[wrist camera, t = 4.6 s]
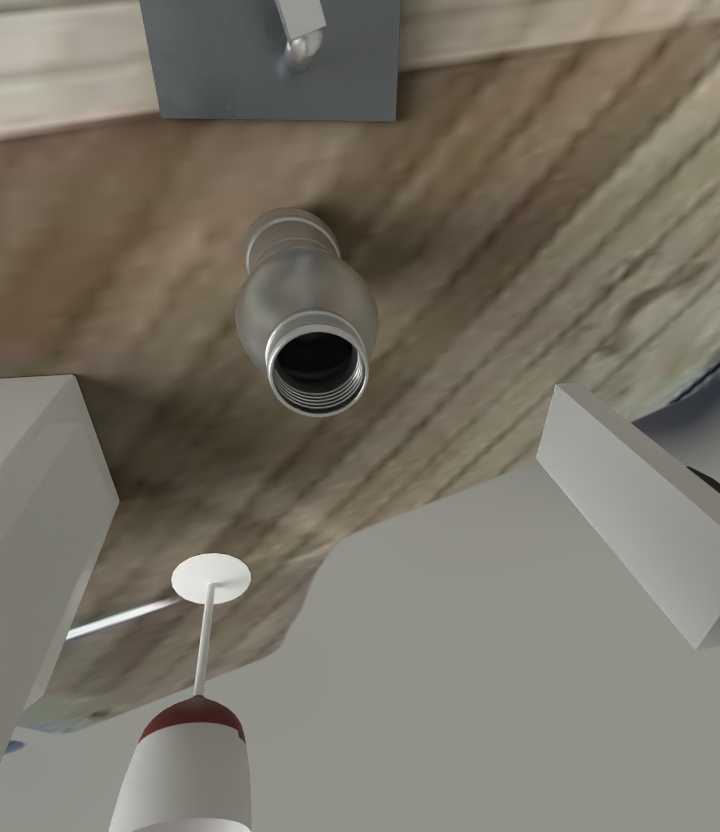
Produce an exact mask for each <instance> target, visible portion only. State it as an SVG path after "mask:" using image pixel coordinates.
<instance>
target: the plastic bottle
mask: <svg viewBox="0 0 720 832" xmlns="http://www.w3.org/2000/svg"><path fill="white" fill-rule="evenodd" d="M243 263H244V268H245V270H246V273H247V276H248V277H247V278H246V280H245V282H244V284H243V286H242V288H241V291H240V293H239V296H238V301H237V305H236V319H235V322H236V327H237V332H238V336H239V339H240V341H241V343H242V346H243V348H244V350H245V351H246V352H247V354H248V355H249V357H250V358H251V360H252V361H253V362H254V364H255V365H256V366H257V367H258V368H259V369H260V370H261V371H262V372H263V373H264V374H265V375H267V376H268V379H269V383H270V385H271V388H272V390H273V393H274V394H275V395H276V397H277V398H278V400H279V401H280V402H281V403H282V404H283V405H284V406H286V407H287V408H289V409H290V410H292V411H294V412H296V413H298V414H301V415H305V416H309V417H329V416H332V415H336V414H339V413H341V412H343V411H345V410H347V409H348V408H350V407H351V406H353V405H354V404H355V403H356V402H357V401H358V400H359V399H360V397H361V396H362V394H363V393H364V391H365V389H366V386H367V384H368V378H369V364H368V359H369V358H370V356H371V354H372V351H373V349H374V346H375V342H376V337H377V331H378V310H377V306H376V302H375V299H374V296H373V294H372V292H371V290H370V288H369V286H368V285H367V284H366V282H365V281H364V279H363V278H362V277H361V276H360V275H359V274H358V273H357V272H356V271H355V270H354V269H353V268H352V267H351V266H350V265H349V264H348V263H347V262H345V261H343V260H342V259H341V252H340V248H339V244H338V242H337V240H336V238H335V235H334V234H333V232H332V231H331V230H330V228H329V227H328V226H327V225H326V224H325V223H324V222H323V221H322V220H321V219H320V218H318V217H317V216H315V215H314V214H312V213H310V212H307V211H305V210H302V209H297V208H279V209H275V210H271V211H269V212H267V213H265V214H263V215H262V216H261V217H260V218H258V219H257V220H256V221H255V222H254V223H253V225H252V226H251V227H250V228H249V230H248V232H247V235H246V237H245V240H244V244H243Z"/></svg>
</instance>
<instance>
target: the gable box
mask: <svg viewBox="0 0 720 832" xmlns="http://www.w3.org/2000/svg"><path fill="white" fill-rule="evenodd" d="M74 422H81V425H82V428H83V430H84V433H85V436H86V438H87V441H88V444H89V446H90V449H91V452H92V454H93V457H94V460H95V462H96V465H97V468H98V470H99V473H100V476H101V478H102V481H103V484H104V486H105V489H106V491H107V494H108V497H109V499H110V502H111V504H110V507H109V509H108V511H107V514H106V516H105V518H104V521H103V523H102V525H101V528H100V530H99V532H98V535H97V537H96V539H95V542H94V544H93V547H92V549H91V551H90V554H89V556H88V558H87V561H86V563H85V565H84V568H83V570H82V572H81V575H80V577H79V579H78V582H77V584H76V586H75V589H74V591H73V593H72V596H71V598H70V600H69V603H68V605H67V607H66V610H65V612H64V615H63V617H62V619H61V622H60V624H59V626H58V629H57V631H56V633H55V636H54V638H53V640H52V643H51V645H50V647H49V650H48V652H47V654H46V657H45V659H44V661H43V664H42V666H41V668H40V671H39V673H38V675H37V678H36V680H35V683H34V685H33V687H32V690H31V692H30V694H29V697H28V699H27V701H26V704H25V706H24V708H23V711H24V710H26V709H27V708H28V707H29V706H30V705H32V704H33V703H34V702H35V701H37V700H38V699H39V698H40V697H41V696H43V695H44V692H45V690H46V687H47V685H48V682H49V680H50V677H51V675H52V672H53V669H54V667H55V664H56V662H57V659H58V657H59V654H60V652H61V649H62V647H63V644H64V642H65V639H66V636H67V634H68V631H69V629H70V626H71V624H72V621H73V619H74V616H75V614H76V611H77V609H78V606H79V603H80V601H81V598H82V596H83V593H84V591H85V588H86V586H87V583H88V581H89V578H90V575H91V573H92V570H93V568H94V565H95V563H96V560H97V558H98V555H99V553H100V550H101V548H102V545H103V542H104V540H105V537H106V535H107V532H108V530H109V527H110V525H111V522H112V520H113V517H114V515H115V512H116V509H117V507H118V504H119V502H120V500H119V497H118V495H117V492H116V489H115V486H114V483H113V481H112V478H111V475H110V472H109V469H108V466H107V464H106V461H105V458H104V455H103V452H102V450H101V447H100V444H99V441H98V438H97V435H96V433H95V430H94V427H93V424H92V421H91V418H90V416H89V413H88V410H87V407H86V404H85V402H84V399H83V396H82V393H81V390H80V387H79V385H78V382H77V379H76V377H75V376H74V375H72V374H70V375H53V376H37V377H20V378H3V379H0V486H1V485H2V484H3V482H4V481H5V480H6V478H7V477H8V476H9V474H10V473H11V472H12V471H13V469H14V468H15V467H16V465H17V464H18V463H19V461H20V460H21V459H22V457H23V456H24V455H25V454H26V452H27V451H28V450H29V448H30V447H31V446H32V444H33V443H34V442H35V440H36V439H37V438H38V436H39V435H40V434H41V433H42V431H43V430H44V429H45V427H46V426H47V425H49V424H62V423H74ZM23 711H22V712H23Z"/></svg>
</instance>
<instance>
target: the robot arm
mask: <svg viewBox="0 0 720 832" xmlns="http://www.w3.org/2000/svg"><path fill="white" fill-rule="evenodd" d="M536 459H537V460H538V462H539V463H540V464H541V465H542V466H543V468H544V469H545V470H546V471H547V472H548V474H549V475H550V476H551V477H552V478H553V479H554V481H555V482H556V483H557V484H558V486H559V487H560V488H561V489H562V490H563V492H564V493H565V494H566V495H567V496H568V497H569V499H570V500H571V501H572V502H573V504H574V505H575V506H576V507H577V508H578V510H579V511H580V512H581V513H582V514H583V516H584V517H585V518H586V519H587V520H588V522H589V523H590V524H591V525H592V526H593V528H594V529H595V530H596V531H597V532H598V534H599V535H600V536H601V537H602V538H603V540H604V541H605V542H606V543H607V544H608V546H609V547H610V548H611V549H612V551H613V552H614V553H615V554H616V555H617V556H618V558H619V559H620V560H621V561H622V562H623V564H624V565H625V566H626V567H627V569H628V570H629V571H630V572H631V573H632V575H633V576H634V577H635V578H636V579H637V581H638V582H639V583H640V584H641V585H642V586H643V588H644V589H645V590H646V591H647V593H648V594H649V595H650V596H651V597H652V599H653V600H654V601H655V602H656V603H657V604H658V606H659V607H660V608H661V609H662V611H663V612H664V613H665V614H666V615H667V617H668V618H669V619H670V620H671V621H672V623H673V624H674V625H675V626H676V627H677V629H678V630H679V631H680V632H681V633H682V635H683V636H684V637H685V638H686V639H687V641H688V642H689V643H690V644H691V645H692V647H693V648H694V649H695V650H701V649H706V648H711V647H716V646H720V484H719V483H718V482H717V481H715V480H714V479H713V478H711V477H708V476H707V475H705V474H703V473H700V472H699V471H697V470H695V469H693V468H691V467H689V466H688V467H685V466H684V465H683V464H681V463H680V462H679V461H678V460H677V459H675V458H674V457H673V456H671V455H670V454H669V453H668V452H666V451H665V450H664V449H663V448H661V447H660V446H659V445H658V444H656V443H655V442H654V441H652V440H651V439H650V438H649V437H647V436H646V435H645V434H644V433H642V432H641V431H640V430H638V429H637V428H636V427H635V426H634V425H632V424H631V423H630V422H628V421H627V420H626V419H625V418H623V417H622V416H621V415H620V414H618V413H617V412H616V411H615V410H613V409H612V408H611V407H610V406H608V405H607V404H606V403H604V402H603V401H602V400H601V399H599V398H598V397H597V396H596V395H594V394H593V393H592V392H591V391H589V390H588V389H587V388H585V387H584V386H583V385H582V384H580V383H579V382H578V383H565V384H556V385H555V388H554V392H553V396H552V400H551V403H550V407H549V411H548V415H547V418H546V422H545V426H544V430H543V434H542V437H541V441H540V445H539V449H538V452H537V456H536ZM110 504H111V502H110V499H109V497H108V494H107V491H106V489H105V486H104V484H103V481H102V478H101V476H100V473H99V470H98V468H97V465H96V462H95V460H94V457H93V454H92V452H91V449H90V446H89V444H88V441H87V438H86V436H85V433H84V430H83V428H82V425H81V422H74V423H62V424H49V425H47V426H46V427H45V429H44V430H43V431H42V433H41V434H40V435H39V436H38V438H37V439H36V440H35V442H34V443H33V444H32V446H31V447H30V448H29V450H28V451H27V452H26V454H25V455H24V456H23V457H22V459H21V460H20V461H19V463H18V464H17V465H16V467H15V468H14V469H13V471H12V472H11V473H10V474H9V476H8V477H7V478H6V480H5V481H4V482H3V484H2V485H1V486H0V762H1V760H2V757H3V755H4V753H5V750H6V748H7V746H8V743H9V741H10V739H11V736H12V734H13V732H14V729H15V727H16V725H17V722H18V720H19V718H20V715H21V713H22V711H23V708H24V706H25V704H26V701H27V699H28V697H29V694H30V692H31V690H32V687H33V685H34V683H35V680H36V678H37V675H38V673H39V671H40V668H41V666H42V664H43V661H44V659H45V657H46V654H47V652H48V650H49V647H50V645H51V643H52V640H53V638H54V636H55V633H56V631H57V629H58V626H59V624H60V622H61V619H62V617H63V615H64V612H65V610H66V607H67V605H68V603H69V600H70V598H71V596H72V593H73V591H74V589H75V586H76V584H77V582H78V579H79V577H80V575H81V572H82V570H83V568H84V565H85V563H86V561H87V558H88V556H89V554H90V551H91V549H92V547H93V544H94V542H95V539H96V537H97V535H98V532H99V530H100V528H101V525H102V523H103V521H104V518H105V516H106V514H107V511H108V509H109V507H110Z"/></svg>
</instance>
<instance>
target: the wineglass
mask: <svg viewBox="0 0 720 832" xmlns="http://www.w3.org/2000/svg"><path fill="white" fill-rule="evenodd" d="M171 580H172V586H173V588H174V589H175V591H176V592H177V593H178V595H180V596H182V597H183V598H185V599H186V600H189V601H192V602H195V603H200V604H205V608H204V616H203V623H202V631H201V639H200V647H199V655H198V663H197V671H196V679H195V686H194V694H193V697H192V698H190V699H188V700H185V701H182V702H179V703H177V704H174V705H172V706H171V707H169V708H167V709H165V710H164V711H162V712H161V713H160V714H158V715H157V716H156V717H155V718H154V719H153V720H152V721H151V722H150V723H149V724H148V726H147V727H146V728H145V730H144V732H143V734H142V736H141V738H140V740H139V742H138V745H137V747H136V750H135V752H134V755H133V758H132V760H131V763H130V765H129V768H128V770H127V773H126V776H125V778H124V781H123V784H122V787H121V790H120V793H119V797H118V800H117V804H116V807H115V811H114V814H113V817H112V821H111V824H110V828H109V832H251V825H252V822H251V790H250V789H251V788H250V773H249V764H248V756H247V748H246V742H245V736H244V732H243V729H242V726H241V723H240V722H239V720H238V718H237V717H236V716H235V714H234V713H233V712H231V711H230V710H229V709H228V708H226V707H225V706H223V705H221V704H219V703H217V702H215V701H212V700H209V699H207V698H204V697H203V695H204V685H205V676H206V667H207V658H208V649H209V640H210V630H211V621H212V612H213V604H218V603H223V602H227V601H230V600H233V599H235V598H236V597H238V596H240V595H241V594H242V593H243V592H244V591H245V590H246V589H247V588H248V586H249V584H250V582H251V572H250V571H249V569H248V567H247V565H245V564H244V563H243V562H242V561H240V560H239V559H237V558H234V557H232V556H229V555H225V554H218V553H211V554H201V555H198V556H194V557H191V558H189V559H187V560H185V561H184V562H182V563H180V565H179V566H178V567H177V568H176V569H175V570H174V572H173V575H172V578H171Z"/></svg>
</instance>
